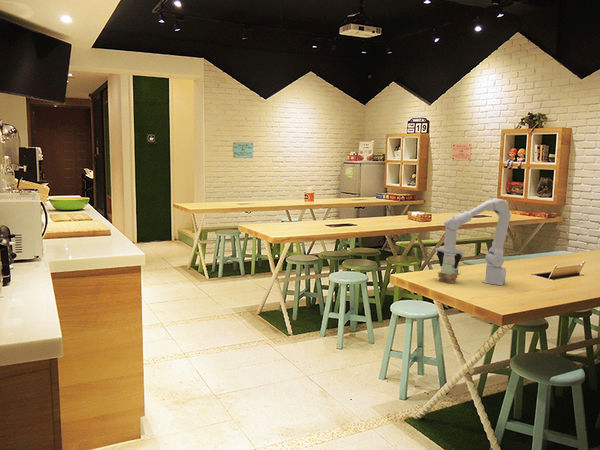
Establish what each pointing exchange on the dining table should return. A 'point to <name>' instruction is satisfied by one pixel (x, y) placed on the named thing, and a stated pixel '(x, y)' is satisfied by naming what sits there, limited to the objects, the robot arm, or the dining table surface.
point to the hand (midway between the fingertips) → (448, 267)
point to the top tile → (447, 276)
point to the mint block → (448, 268)
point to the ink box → (449, 260)
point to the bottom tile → (447, 280)
